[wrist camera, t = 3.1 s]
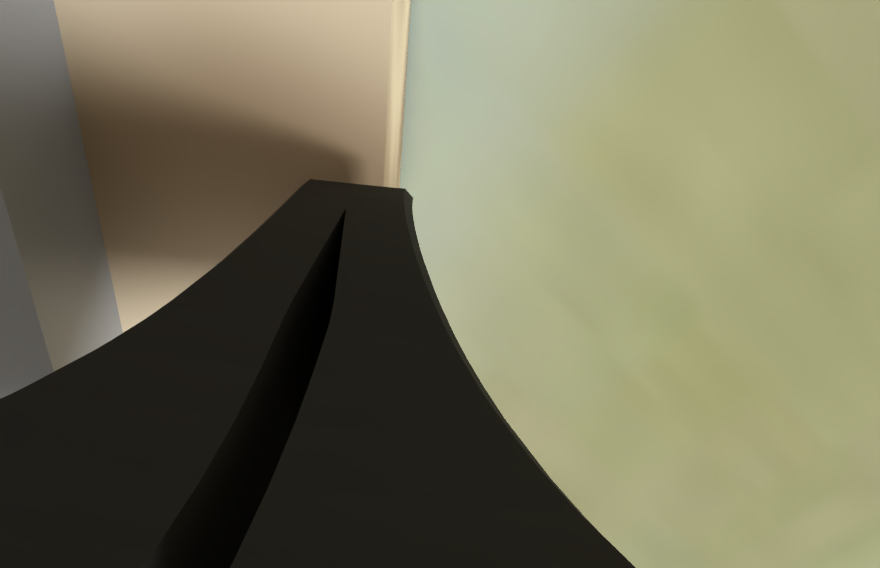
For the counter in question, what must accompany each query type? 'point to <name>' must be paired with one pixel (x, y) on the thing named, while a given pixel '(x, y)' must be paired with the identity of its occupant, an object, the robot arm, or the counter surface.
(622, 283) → the counter surface
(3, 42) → the slate tile
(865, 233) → the counter surface
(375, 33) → the birch deck
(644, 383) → the counter surface
